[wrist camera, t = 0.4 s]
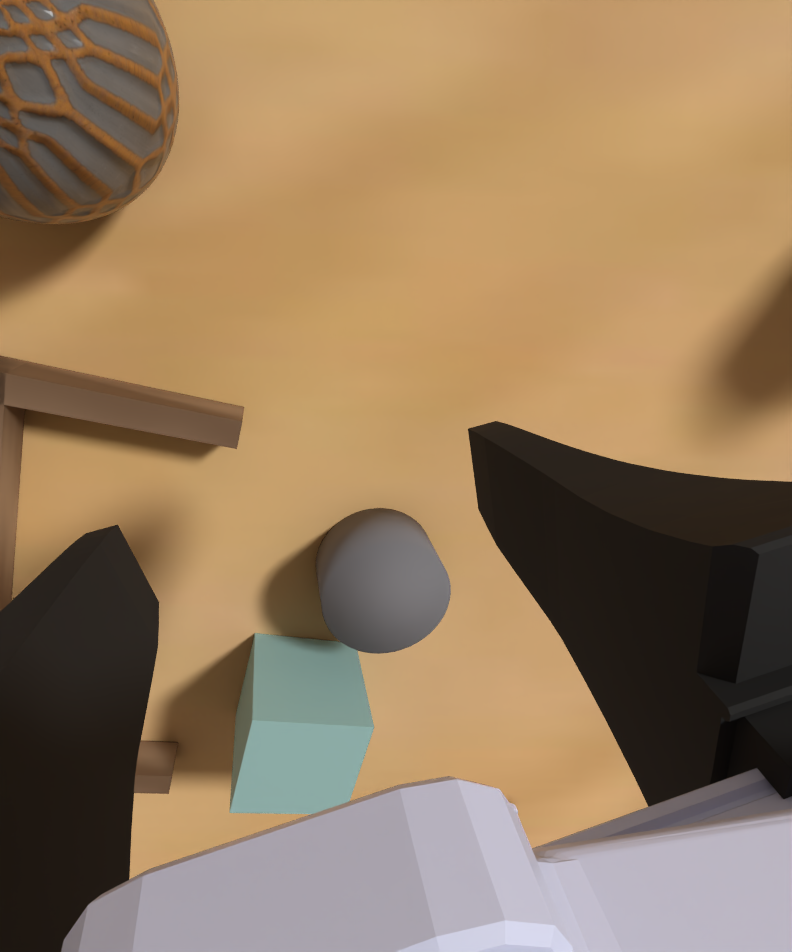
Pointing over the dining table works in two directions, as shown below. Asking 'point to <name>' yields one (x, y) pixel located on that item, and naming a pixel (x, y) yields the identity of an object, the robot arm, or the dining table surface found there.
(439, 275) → the dining table surface
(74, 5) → the vase
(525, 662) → the dining table surface
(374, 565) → the puck
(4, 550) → the brown angular piece
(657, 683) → the robot arm
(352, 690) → the block
